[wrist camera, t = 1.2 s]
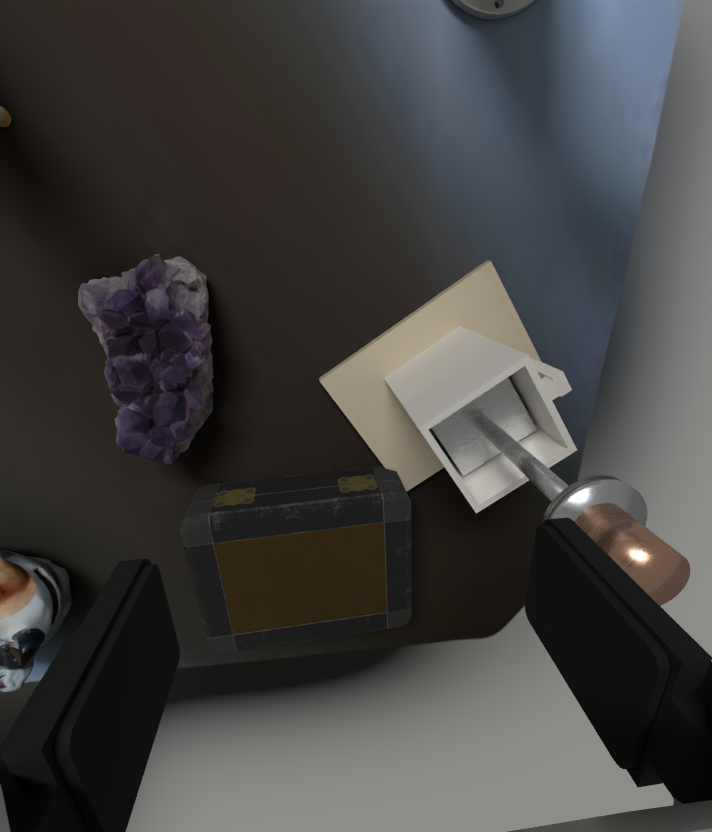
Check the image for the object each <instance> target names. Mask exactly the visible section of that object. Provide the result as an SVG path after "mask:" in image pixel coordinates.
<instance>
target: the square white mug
mask: <svg viewBox="0 0 712 832" xmlns="http://www.w3.org/2000/svg"><path fill="white" fill-rule="evenodd" d="M507 377H508V378H509V380H510V381H511V383H512V385H513V387H514V389H515V391H516V392H517V394H518V396H519V398H520V400H521V402H522V403H523V405H524V407H525V409H526V411H527V412H528V414H529V416H530V418H531V420H532V422H533V423H534V425H535V427H536V429H537V430H535V431H534V432H532V433H530V434H529V435H527V436H526V437H524V438H523V439H521V440H520V441H518V443H519V444H520V445H521V446H522V447H524V448H525V449H526V450H527V451H528V452H529V453H531V454H532V455H533V456H534V457H535V458H536V459H538V460H539V461H540V462H541V463H542V464H544V465H545V466H546V467H547V468H550V467H551V466H553V465H554V464H556V463H557V462H559V461H561V460H562V459H564V458H565V457H567V456H569V455H570V454H572V453H573V452H575V451H577V448H576V447H575V445H574V443H573V441H572V439H571V437H570V435H569V433H568V431H567V429H566V427H565V425H564V423H563V421H562V419H561V417H560V415H559V413H558V411H557V409H556V407H555V405H554V404H553V402H552V400H554V399H555V398H557V397H558V396H561V397H562V396H564V395H565V394H567V393H568V392H570V391H571V390H572V389H571V387H570V385H569V383H568V381H567V379H566V377H565V375H564V373H563V371H561V370H558V369H556V368H554V367H551V366H549V365H547V364H544V363H542V362H541V360H540V358H539V356H538V354H537V352H536V350H535V348H534V346H533V344H532V342H531V340H530V338H529V336H528V334H527V332H526V330H525V328H524V326H523V324H522V322H521V320H520V318H519V316H518V314H517V312H516V310H515V308H514V306H513V304H512V302H511V300H510V298H509V296H508V294H507V292H506V290H505V288H504V286H503V284H502V282H501V280H500V278H499V276H498V274H497V272H496V270H495V268H494V266H493V264H492V262H491V261H485V262H484V263H482V264H481V265H480V266H478V267H477V268H475V269H474V270H472V271H471V272H470V273H468V274H467V275H465V276H464V277H463V278H461V279H460V280H458V281H457V282H455V283H454V284H453V285H451V286H450V287H448V288H447V289H445V290H444V291H443V292H441V293H440V294H438V295H437V296H435V297H434V298H433V299H431V300H430V301H428V302H427V303H425V304H424V305H423V306H421V307H420V308H418V309H417V310H416V311H414V312H413V313H411V314H410V315H408V316H407V317H406V318H404V319H403V320H401V321H400V322H398V323H397V324H396V325H394V326H393V327H391V328H390V329H388V330H387V331H386V332H384V333H383V334H381V335H380V336H378V337H377V338H376V339H374V340H373V341H371V342H370V343H369V344H367V345H366V346H364V347H363V348H361V349H360V350H359V351H357V352H356V353H354V354H353V355H351V356H350V357H349V358H347V359H346V360H344V361H343V362H341V363H340V364H339V365H337V366H336V367H334V368H333V369H331V370H330V371H329V372H327V373H326V374H324V375H323V376H322V377H320V378H319V381H320V382H321V384H322V385H323V386H324V388H325V389H326V390H327V392H328V393H329V394H330V396H331V397H332V398H333V400H334V401H335V402H336V404H337V405H338V406H339V407H340V409H341V410H342V411H343V413H344V414H345V415H346V417H347V418H348V419H349V421H350V422H351V423H352V425H353V426H354V427H355V429H356V430H357V431H358V433H359V434H360V435H361V437H362V438H363V439H364V441H365V442H366V443H367V445H368V446H369V447H370V449H371V450H372V451H373V453H374V454H375V455H376V457H377V458H378V459H379V461H380V462H381V463H382V464H383V466H384V467H385V468H386V469H390V470H394V471H397V473H398V475H399V477H400V479H401V481H402V483H403V486H404V488H405V490H406V492H407V491H408V490H410V489H411V488H413V487H415V486H416V485H418V484H419V483H421V482H422V481H424V480H425V479H427V478H428V477H430V476H432V475H433V474H435V473H436V472H438V471H439V470H441V469H442V468H444V467H445V468H446V470H447V471H448V473H449V474H450V476H451V477H452V479H453V480H454V482H455V483H456V484H457V486H458V487H459V489H460V490H461V492H462V493H463V495H464V496H465V498H466V499H467V501H468V502H469V504H470V505H471V506H472V508H473V509H474V511H475V512H476V513H478V512H479V511H481V510H483V509H484V508H486V507H487V506H489V505H491V504H492V503H494V502H495V501H497V500H499V499H500V498H502V497H503V496H505V495H506V494H508V493H510V492H511V491H513V490H514V489H516V488H518V487H519V486H521V485H522V484H524V483H526V482H527V481H529V479H528V478H527V477H526V476H525V475H524V474H523V473H522V472H521V471H520V470H519V469H518V468H517V467H516V466H515V465H514V464H513V463H512V462H511V461H510V460H509V459H508V458H507V457H506V456H505V455H504V454H502V453H499V454H498V455H496V456H495V457H493V458H491V459H490V460H488V461H487V462H485V463H484V464H482V465H481V466H479V467H477V468H476V469H474V470H473V471H471V472H470V473H468V474H467V475H465V476H463V475H462V473H461V472H460V470H459V469H458V467H457V466H456V464H455V463H454V461H453V460H452V458H451V457H450V455H449V454H448V452H447V451H446V449H445V448H444V446H443V445H442V443H441V442H440V440H439V439H438V437H437V436H436V434H435V433H434V431H433V430H432V427H433V426H435V425H436V424H438V423H439V422H441V421H442V420H444V419H445V418H447V417H448V416H450V415H451V414H453V413H454V412H456V411H457V410H459V409H460V408H462V407H463V406H465V405H466V404H468V403H469V402H471V401H472V400H474V399H475V398H477V397H479V396H480V395H482V394H483V393H485V392H486V391H488V390H489V389H491V388H492V387H494V386H495V385H497V384H498V383H500V382H501V381H503V380H504V379H506V378H507Z"/></svg>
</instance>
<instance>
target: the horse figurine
mask: <svg viewBox="0 0 712 832" xmlns="http://www.w3.org/2000/svg"><path fill="white" fill-rule="evenodd" d="M10 123H11V117H10V115H9V113H8V112H7V111H6V110H5V109H4V108H3V107H1V106H0V126H2V127H8V126H9V125H10Z"/></svg>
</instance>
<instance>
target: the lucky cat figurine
mask: <svg viewBox="0 0 712 832" xmlns="http://www.w3.org/2000/svg"><path fill="white" fill-rule="evenodd" d="M69 582H70V581H69V575H68V573H67V572H66V569H64V568H62V567H58V566H56V565H54V564H52V562H51V561H50V560H47V559H42V558H36V557H31V556H26V555H22V554H19V553H15V552H11V551H7V550H4V549H0V691H2V692H10V691H14V690H15V691H16V690H19V689H21V688H22V687H23V684H24V681H25V680H26V679H27V677H28V676H29V674H30V673H31V671H32V669H33V664H34V663H33V658H34V656H35V654H36V653H37V652H38V650H39V649H40V648H42V647H43V646H45V645H46V644H48V643H49V641H50V640H51V639H52V637H53V636H54V635H55V634H56V632H57V631H58V630H59V627H60V626H61V624H62V622H63V620H64V617H65V616H66V615H67V613H68V612H69V611H70V609H71V605H72V602H73V599H72V597H71V591H70V585H69Z"/></svg>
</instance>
